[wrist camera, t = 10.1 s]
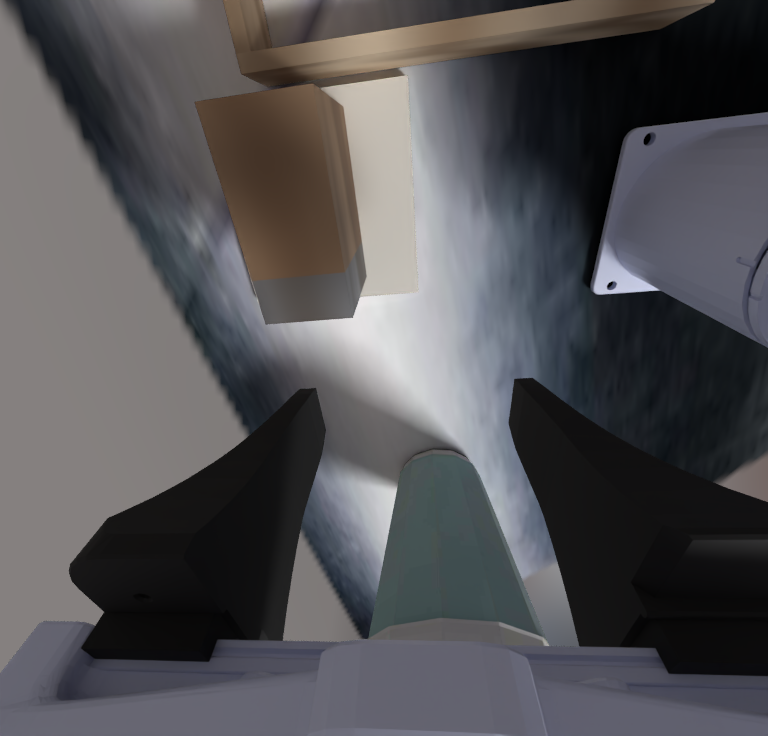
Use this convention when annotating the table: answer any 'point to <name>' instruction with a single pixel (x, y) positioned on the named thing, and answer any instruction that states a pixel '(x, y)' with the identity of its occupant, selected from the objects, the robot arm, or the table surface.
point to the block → (290, 199)
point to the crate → (440, 37)
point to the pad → (382, 180)
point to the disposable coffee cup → (450, 562)
